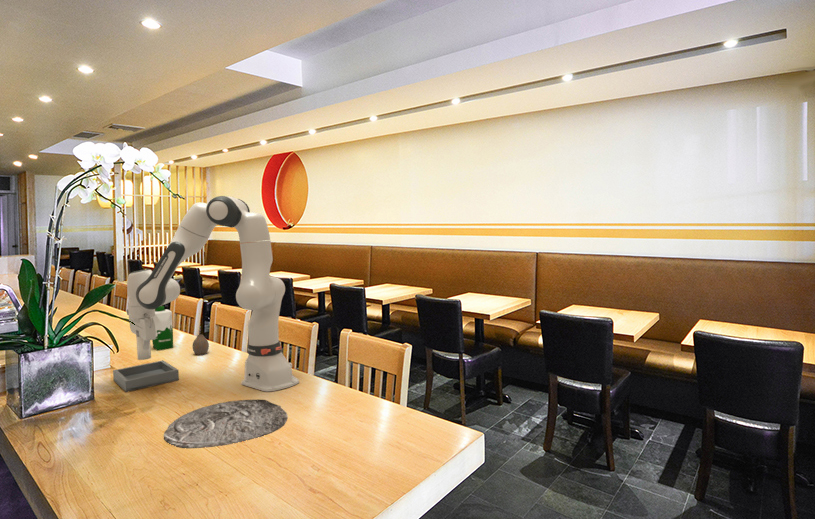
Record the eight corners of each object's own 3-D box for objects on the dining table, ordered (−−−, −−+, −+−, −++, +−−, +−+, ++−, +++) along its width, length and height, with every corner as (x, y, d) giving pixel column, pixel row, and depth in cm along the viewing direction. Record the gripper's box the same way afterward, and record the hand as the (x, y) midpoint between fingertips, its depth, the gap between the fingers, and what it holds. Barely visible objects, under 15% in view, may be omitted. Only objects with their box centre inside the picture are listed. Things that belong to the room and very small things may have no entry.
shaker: (152, 358, 182) (151, 330, 181) (139, 360, 179) (137, 332, 178) (149, 355, 185) (147, 328, 184) (136, 358, 182) (134, 330, 181)
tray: (178, 379, 182) (178, 369, 182) (126, 392, 170) (125, 381, 170) (163, 369, 195) (163, 360, 195) (113, 380, 183) (112, 370, 183)
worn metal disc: (147, 424, 143) (147, 422, 143) (255, 393, 168) (255, 392, 168) (187, 463, 120) (187, 462, 120) (307, 421, 144) (307, 420, 144)
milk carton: (170, 344, 236) (167, 304, 234) (175, 347, 229) (173, 307, 227) (150, 347, 230) (148, 307, 228) (156, 351, 223) (153, 309, 222)
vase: (205, 355, 215) (204, 336, 214) (190, 355, 215) (189, 337, 214) (211, 351, 222) (210, 333, 221) (197, 351, 222) (196, 333, 221)
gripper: (159, 314, 175) (161, 351, 176) (143, 307, 190) (145, 341, 191) (140, 317, 171) (142, 354, 172) (125, 309, 185) (127, 344, 187)
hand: (143, 347), depth 182 cm, fingers closed on shaker, 4 cm apart
